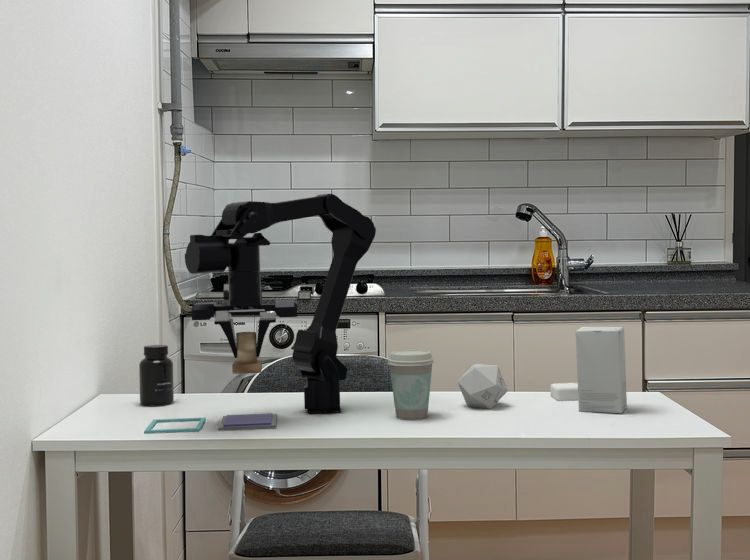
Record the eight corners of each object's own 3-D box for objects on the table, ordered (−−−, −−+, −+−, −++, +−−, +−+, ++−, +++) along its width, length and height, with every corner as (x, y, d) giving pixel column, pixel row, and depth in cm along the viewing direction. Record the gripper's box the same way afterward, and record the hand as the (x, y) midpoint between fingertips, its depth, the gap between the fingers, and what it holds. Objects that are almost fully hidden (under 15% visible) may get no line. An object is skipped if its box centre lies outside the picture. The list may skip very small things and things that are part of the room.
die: (472, 416, 158) (503, 374, 157) (441, 388, 164) (472, 347, 163) (492, 424, 165) (523, 383, 163) (462, 396, 170) (492, 357, 169)
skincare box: (627, 408, 159) (626, 326, 158) (622, 415, 153) (621, 330, 152) (582, 405, 163) (582, 325, 162) (575, 411, 157) (575, 328, 156)
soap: (557, 402, 167) (557, 387, 167) (549, 397, 173) (549, 383, 173) (601, 401, 168) (601, 386, 168) (592, 396, 173) (592, 381, 173)
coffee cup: (382, 420, 153) (380, 354, 152) (398, 410, 161) (396, 348, 160) (426, 422, 150) (425, 356, 149) (440, 413, 158) (439, 349, 157)
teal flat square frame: (205, 419, 157) (205, 417, 157) (200, 431, 147) (199, 428, 147) (153, 421, 156) (153, 419, 156) (144, 433, 146) (144, 431, 146)
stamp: (261, 368, 155) (260, 330, 154) (260, 372, 150) (259, 333, 150) (234, 369, 154) (233, 331, 154) (232, 373, 149) (231, 334, 149)
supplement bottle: (165, 407, 170) (163, 348, 169) (134, 406, 171) (132, 348, 170) (179, 400, 176) (177, 343, 176) (149, 400, 178) (147, 343, 177)
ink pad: (276, 416, 158) (276, 412, 158) (275, 428, 148) (275, 423, 148) (223, 418, 157) (223, 414, 157) (218, 430, 147) (218, 426, 147)
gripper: (296, 268, 160) (298, 349, 161) (197, 271, 158) (199, 353, 159) (296, 270, 149) (298, 357, 150) (189, 273, 147) (192, 361, 148)
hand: (247, 357), depth 152 cm, fingers closed on stamp, 4 cm apart
